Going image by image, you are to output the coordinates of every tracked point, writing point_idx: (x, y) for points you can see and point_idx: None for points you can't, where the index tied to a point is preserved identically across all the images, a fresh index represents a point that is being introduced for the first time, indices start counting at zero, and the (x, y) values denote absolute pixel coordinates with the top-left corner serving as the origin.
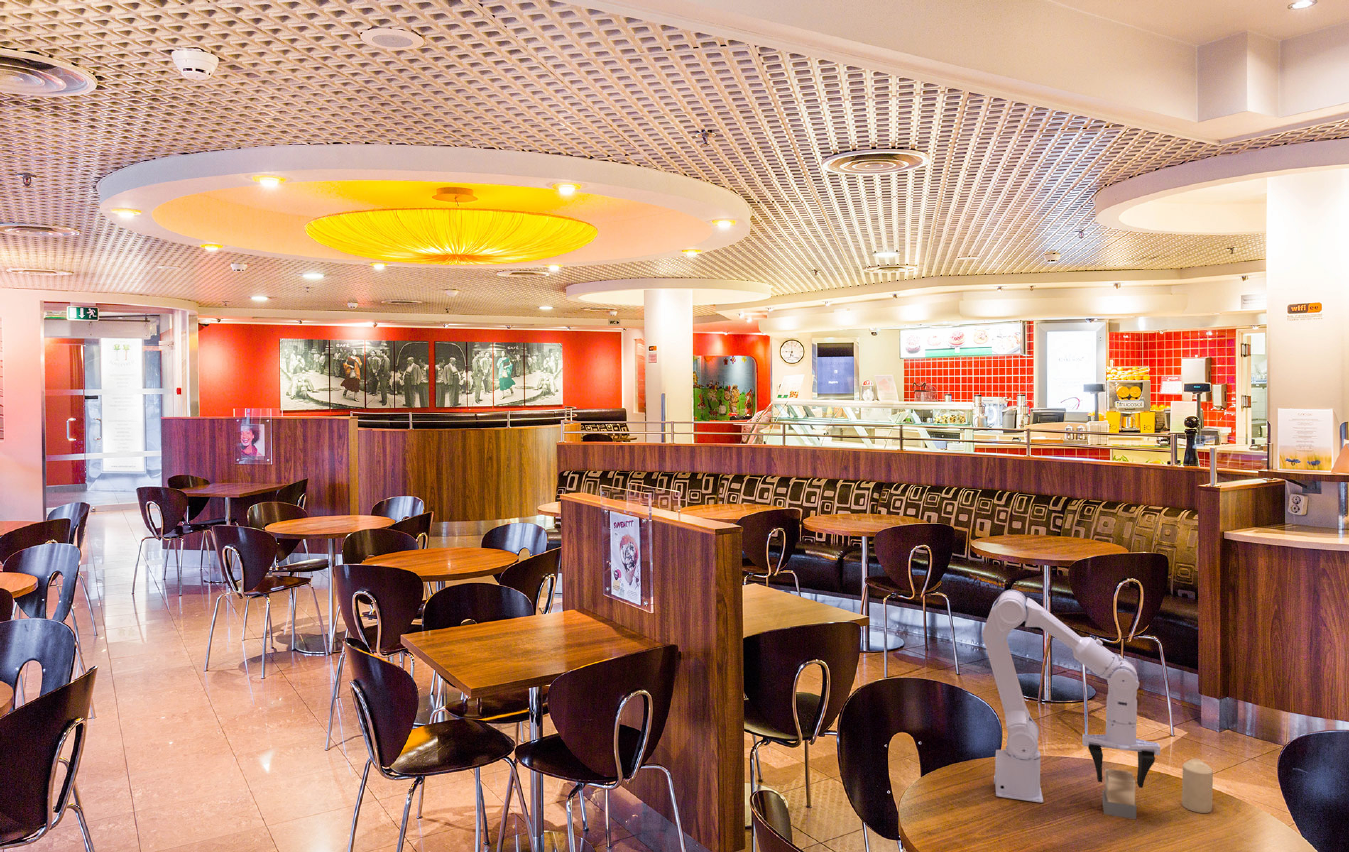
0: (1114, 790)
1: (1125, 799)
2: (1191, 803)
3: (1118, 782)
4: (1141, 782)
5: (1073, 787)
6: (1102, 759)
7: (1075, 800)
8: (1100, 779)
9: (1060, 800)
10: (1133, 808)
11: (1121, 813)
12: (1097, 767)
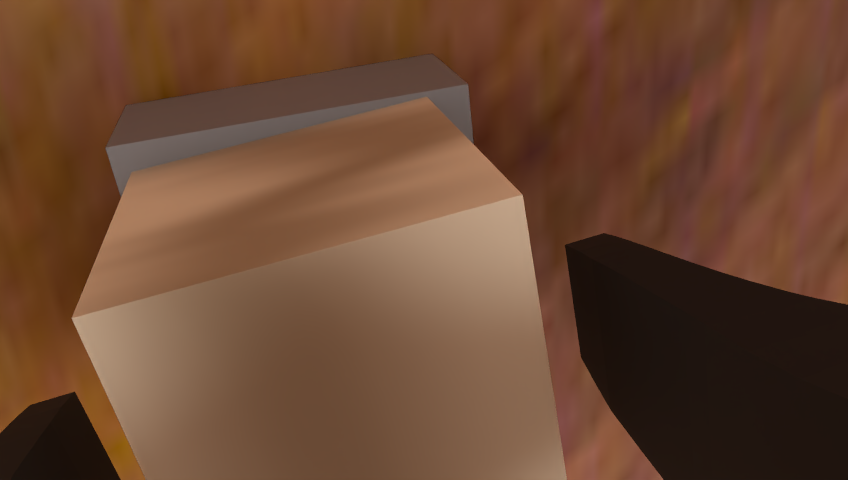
0: (387, 159)
1: (237, 164)
2: None
3: (355, 223)
4: (11, 439)
5: None
6: (838, 399)
7: (671, 199)
8: (606, 246)
9: (790, 122)
10: (143, 136)
11: (271, 91)
12: (774, 296)
